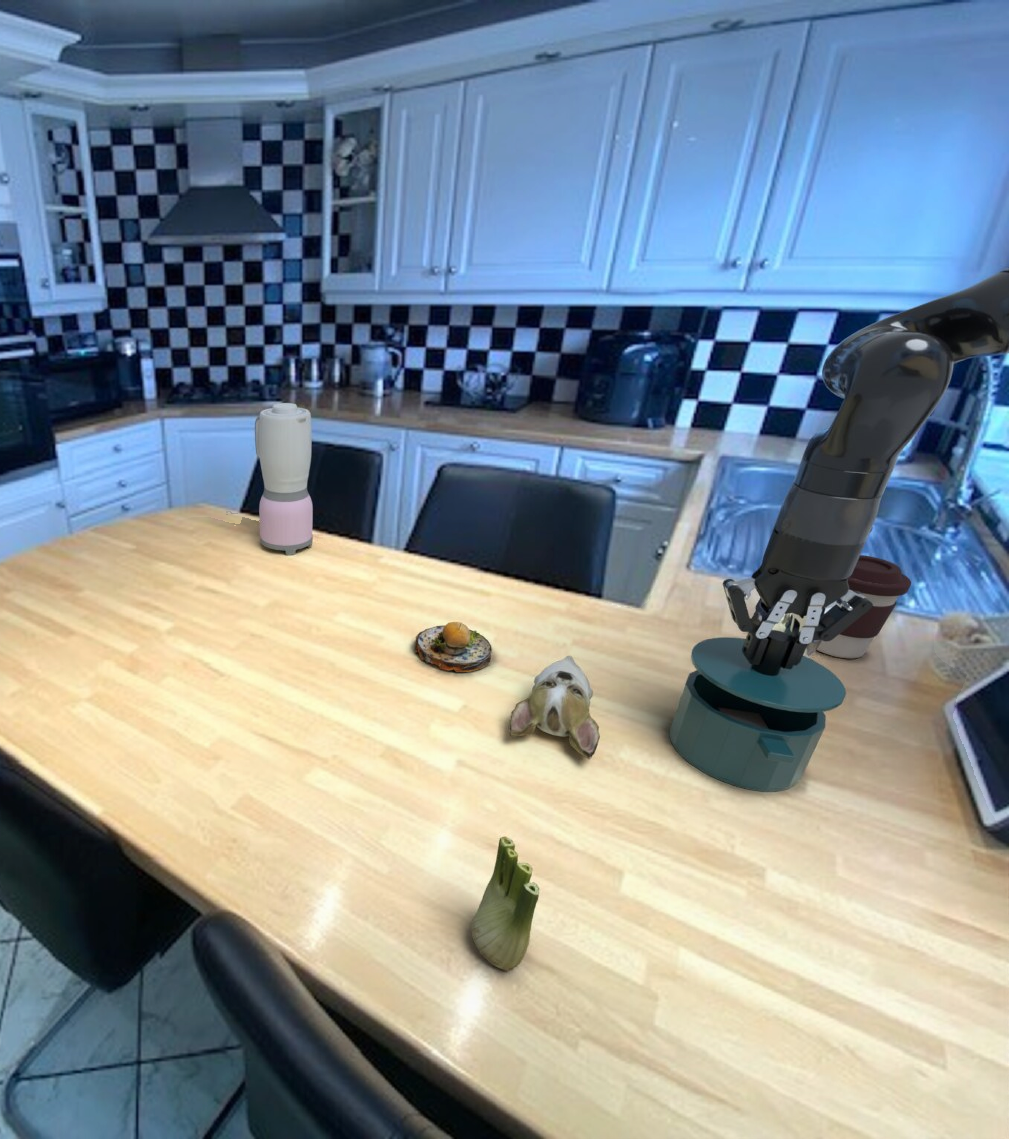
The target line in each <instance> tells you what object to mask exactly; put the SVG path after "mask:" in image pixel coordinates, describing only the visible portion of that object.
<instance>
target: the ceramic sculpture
mask: <svg viewBox="0 0 1009 1139" xmlns="http://www.w3.org/2000/svg"><path fill="white" fill-rule="evenodd" d="M573 658H574V657H572V655H567V656H566V657H564V658H562V659H560V660H558V661H555V662H553V663H551V664H550V665H548V666H546V667H544V669H543V670H541V672H540V673H538V674H537V675H536V676H535V677H534V679H533V683H534V685H533V686H532V690H531V693H530V694H529V697H527V699H524V700H520V701H519V702H517V703H516V704H515V706H514V709H512V710H511V713H510V719H509V728H508V729H509V735H510V736H511V737H513V738H514V737H522V736H527V735H531V734H533V733H534V732H535V731H536V728H538V729H539V730H541V732H544V733H547V734H549V735H552V736H557V737H569V739H568V740H569V744H570V746H571V747H572V748H573V749H574V750H575V751H577V752H578V753H579V754H580V755H582V756H583V757H584V758H586V759H587V760H591V759H592V757H593V755H595V753H596V750H597V747H598V745H599V742H600V738H601V735H600V732H599V728H600V727H599V725H598V723H597V722H596V720H595V719H594V718H593V717H592V716H591V712H590V706H591V699H592V698H593V696H594V690H593V689H592V687H591V684H590V681H589V679H588V677H587V675H586V674H585V672H584V671H583V669H582V668H581V667H580V666H579V665H578V664H577V662H576V661H575V660H574V659H573Z"/></svg>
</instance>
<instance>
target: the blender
mask: <svg viewBox="0 0 1009 1139" xmlns="http://www.w3.org/2000/svg"><path fill="white" fill-rule="evenodd" d="M312 434H313V433H312V414H311V412H310V410H309V409H306V408H303V407H298V406H297V404H296V403H291V402H282V403H275V404H273V405H272V407H271V408H266V409H263V410H261V411H260V413H259V415H258V416H257V417H256V418H255V421H254V442H255V443H254V444H255V454H256V457H257V458H258V459H259V463H260V468H261V474H262V479H263V486H264V487H263V488H264V489H263V492H262V495H261V498H260V501H259V507H258V508H259V509H258V512H259V514H258V515H259V516H258V519H259V542H260V545H262V546H263V547H265V548H268V549H270V550H275V551H284V552H285V555H286V556H294V555H296V551H297V550H301V549H305V548H306V547H307V549H311V548H312V547H313V539H314V537H313V536H314V535H313V523H314V522H313V519H314V518H313V516H314V515H313V514H314V512H313V511H314V508H313V507H314V506H313V501H312V498H311V496H310V493H309V491H308V480H309V476H310V470H311V463H312V438H313V436H312Z"/></svg>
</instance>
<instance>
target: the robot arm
mask: <svg viewBox="0 0 1009 1139" xmlns="http://www.w3.org/2000/svg"><path fill="white" fill-rule="evenodd" d="M1007 354H1009V267H1006V268H1004V269H1003V270H1000V271H998V272H996V273H994V274H992V275H990V276H989V277H986V278H985V279H983V280H980V281H979V282H977V283H975V284H973V285H971V286H968V287H967V288H964V289H962V290H959V291H957V292H953V293H951V294H948V295H945V296H942V297H939V298H936V299H933V300H930V301H928V302H925V303H921V304H919V305H917V306H914V307H912V308H909V309H906V310H903V311H901V312H899V313H895V314H893V315H890V316H887V317H885V318H883V319H880V320H878V321H876V322H874V323H871V324H869V325H867V326H865V327H863V328H861V329H859V330H857V331H856V332H854V333H852V334H851V335H849V336H848V337H846V338H844V339H843V340H842V341H841V342H840V343H838V344H837V345H836V346H835V347H834V348H833V349H832V350H831V351H830V353H829V354H828V355H827V356H826V358H825V361H824V363H823V366H822V371H821V376H822V377H821V378H822V381H823V383H824V385H825V387H826V388H827V389H828V390H829V391H830V392H831V393H832V394H834V395H835V396H837V397H839V398H841V399H843V400H842V403H841V405H840V408H839V409H838V411H837V413H836V415H835V416H834V419H833V420H832V422H831V425H830V426H829V427H828V428H824V429H822V430H819V431H817V432H816V433H814V434H813V436H812V437H811V438H810V439H809V441H808V443H807V445H806V447H805V449H804V452H803V454H802V457H801V460H800V462H799V466H798V468H797V471H796V473H795V477H794V480H793V481H792V484H791V486H790V488H789V490H788V491H787V494H786V495H785V497H784V499H783V501H782V504H781V507H780V510H779V512H778V515H777V518H776V520H775V523H774V526H773V528H772V531H771V534H770V537H769V539H768V542H767V545H766V548H765V550H764V554H763V557H762V561H761V564H760V566H759V567H758V569H756V570H755V571H754V572H753V573H752V575H751V577H748V578H744V579H740V580H734V578H727V579H724V580H723V582H722V587H723V590H724V593H725V597H726V601H727V605H728V608H729V611H730V615H731V619H732V620H733V622H734V623H735V624H736V626H737V628H738V629H739V631H741V632H743V633H747V634H746V637H745V638H744V639H745V642H744V645H743V648H742V652H743V654H744V656H745V657H746V659H747V660H748V661H749V663H750V664H753V665H759V663H760V661H761V658H762V656H763V653H764V651H765V648H766V646H767V643H768V639H767V637H768V635H769V634H770V632H771V630H772V629H773V627H774V625H775V624H778V623H779V622H780V620H781V619H782V617H783V615H784V614H788V613H792V615H793V618H792V623H791V628H790V630H791V632H792V633H791V634H788V635H790V636H791V637H792V639H793V640H792V642H791V645H790V647H789V650H788V652H787V654H786V657H785V659H784V662H783V664H782V668H784V669H792V668H793V665H796V666H797V665H798V664H799V663H800V661H801V659H802V657H803V654H804V652H805V650H806V647H807V645H808V644H809V643H810V642H812V641H815V640H823V641H831V640H833V639H834V638H835V637H836V636H838V635H839V634H840V633H841V632H842V631H844V630H845V629H846V628H847V627H849V626H850V625H851V624H852V623H854V622H855V621H856V620H857V619H859V618H860V617H861V616H862V615H864V614H865V613H866V612H867V611H869V610H870V609H871V608H872V607H873V604H872V602H871V601H869V600H868V599H867V598H866V597H865V596H864V595H863V594H861V593H860V592H859V591H851V590H849V585H848V577H850V576H851V575H852V573H853V570H854V568H855V566H856V563H857V561H858V559H859V557H860V555H862V552H863V550H864V547H865V545H866V542H867V540H868V538H869V536H870V534H871V533H872V531H873V529H874V525H875V522H876V519H877V516H878V513H879V508H880V504H881V500H882V497H883V495H884V493H885V490H886V488H887V485H888V483H889V481H890V479H891V477H892V475H893V472H894V469H895V468H896V464H897V461H898V459H899V456H900V454H901V452H902V451H903V450H904V449H905V448H906V447H907V446H908V445H909V443H910V442H911V441H912V440H913V439H914V438H915V436H916V435H917V434H918V432H919V431H920V429H921V428H922V427H923V426H924V424H925V423H926V421H928V419H929V417H930V416H931V414H932V413H933V412H934V411H935V409H936V408H937V406H938V405H939V404H940V402H941V400H942V399H943V397H944V395H945V394H946V391H947V390H948V387H949V385H950V382H951V379H952V375H953V371H954V365H955V364H957V363H959V362H962V361H965V360H969V359H973V358H980V357H994V356H995V357H996V356H1003V355H1007ZM752 590H755V591H756V592H757V594H758V596H759V600H757V603H756V604H755V607H754V608H755V611H754V613H753V615H752V617H750V614H749V610H748V607H747V602H746V601H747V600H749V599H750V597H751V592H752ZM835 601H836V605H834V606H833V607H832V608H831V609H830V610H828V611H827V612H826V613H825V614H824V615H822V616H821V617H820V615H821V610H822V609H824V608H825V607H827V606H828V605H830V604H832V603H833V602H835Z"/></svg>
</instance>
